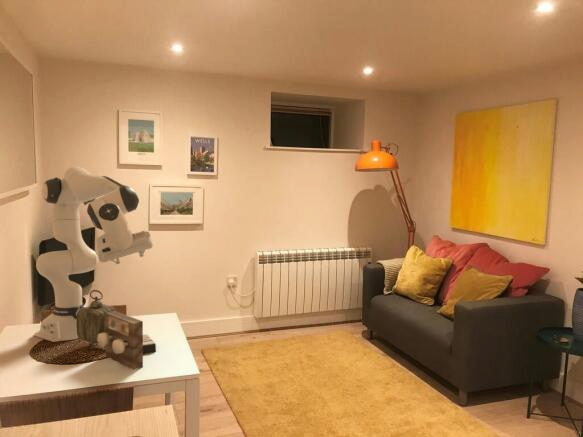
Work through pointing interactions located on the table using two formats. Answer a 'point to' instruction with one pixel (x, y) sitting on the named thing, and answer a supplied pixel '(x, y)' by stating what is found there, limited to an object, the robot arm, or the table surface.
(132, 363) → the button panel
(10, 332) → the table surface
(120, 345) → the button
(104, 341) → the button
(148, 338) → the calculator
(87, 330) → the tabletop clock
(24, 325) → the table surface
